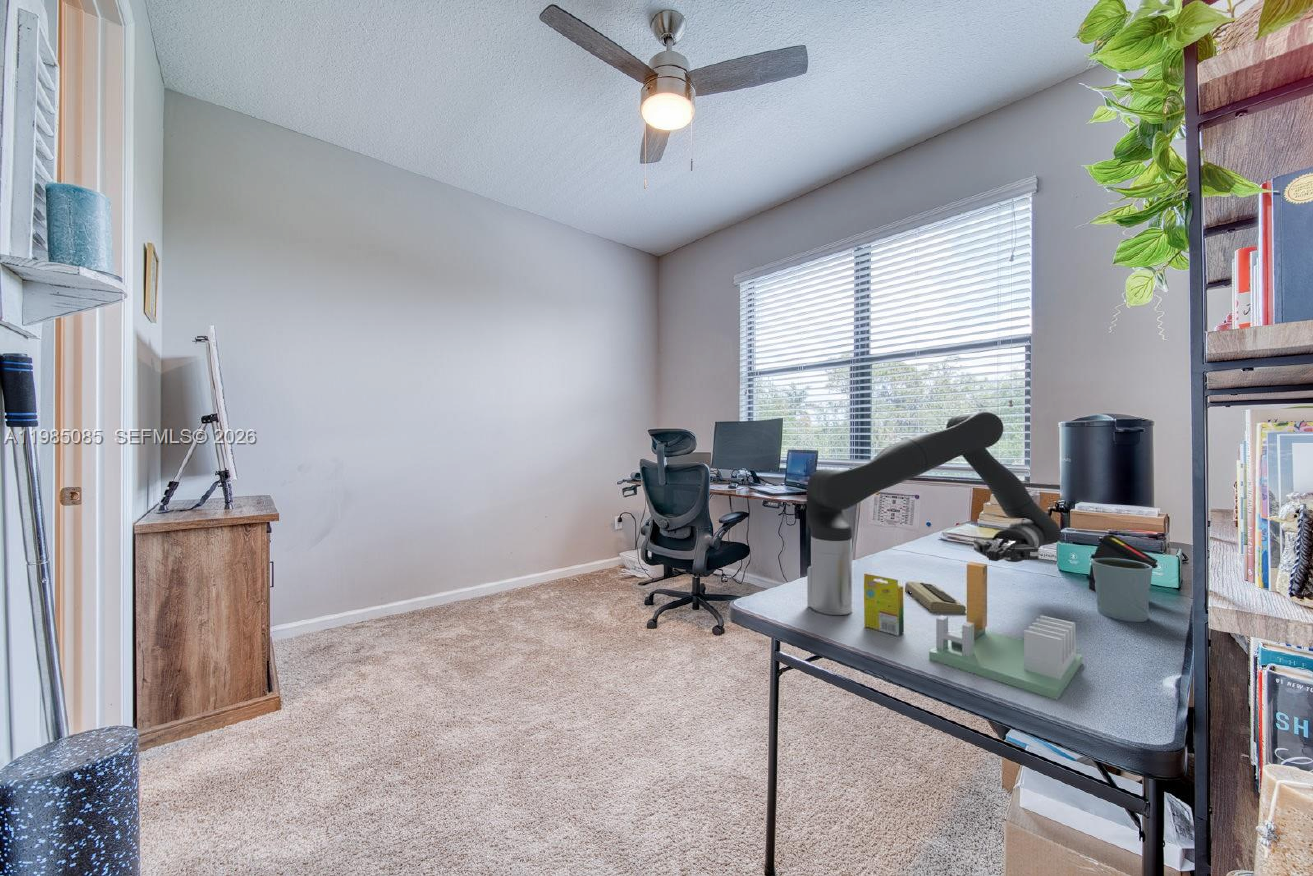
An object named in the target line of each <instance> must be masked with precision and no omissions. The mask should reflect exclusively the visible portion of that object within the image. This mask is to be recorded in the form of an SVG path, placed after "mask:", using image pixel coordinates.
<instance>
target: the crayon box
mask: <svg viewBox="0 0 1313 876" xmlns="http://www.w3.org/2000/svg"><path fill="white" fill-rule="evenodd" d="M863 575H864V577H863V603H864V604H863V607H864V609H863V613H864V614H863V616H864V618H863V619H864V620H863V621H864V623H863V624H864V627H865V628H869V627H870V629H872V628H873V629H872V630H877V631H880V632H884V633H888V634H890V633H891V635H894V636H897V637H899V636H901V635H902V634H903V633H904V632H905V626H904V623H905V620H904V619H905V617H904V616H905V615H904V610H905V609H904V608H905V607H904V586H902V585H899V584H898V582H899V580H898V579H896V578H895V579H894V578H891V577H884V576H880V575H879V576H878V575H874V574H869V573H864V574H863ZM877 580H882V581H884V582H882V581H877Z"/></svg>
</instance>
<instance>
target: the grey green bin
mask: <svg viewBox="0 0 1313 876" xmlns="http://www.w3.org/2000/svg"><path fill="white" fill-rule="evenodd" d="M1091 564H1092V566H1093V573H1094V580H1095V582H1096V583H1095V589H1096V590H1095V594H1096V609H1097V612H1098V613H1099V614H1101V615H1103V616H1106V617H1108V618H1112V619H1115V620H1119V621H1125V622H1133V623H1134V622H1135V623H1140V622H1141V623H1142V622H1143V623H1144V622H1147V621H1148V620H1149V610H1150V608H1149V605H1150V604H1149V603H1150V597H1151V591H1150V588H1151V585H1152V576H1153V569H1154V568H1153V567H1152V566H1150V565H1148V564H1146V563H1142V562H1138V561H1133V560H1126V559H1117V558H1095V559H1091ZM1152 568H1153V569H1152Z"/></svg>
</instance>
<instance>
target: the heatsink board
mask: <svg viewBox="0 0 1313 876" xmlns="http://www.w3.org/2000/svg"><path fill="white" fill-rule="evenodd" d="M935 621H936V622H935V623H936V627H935V632H936V634H935V635H936V636H935V642H936V643H935V646H934V647H932V648H931V649H930V650H929V651H928V656H929V657H928V660H930V659H931V661H934V662H937V663H940V664H944V665H946V664H947V665H946V666H949V665H950V666H949V667H952V666H953V668H955V669H959V668H960V669H959V670H962V671H965V672H969V673H970V674H971V673H972V674H974V673H975V675H978V676H981V677H984V678H986V679H987V678H988V679H989V680H993V681H996V682H1000V683H1002V682H1003V683H1004V684H1006V685H1010V686H1013V687H1016V688H1018V689H1021V690H1025V691H1028V692H1031V693H1033V694H1038V695H1040V696H1043V697H1047V698H1049V699H1053V700H1056V701H1058V700H1059V699H1060V697H1061V695H1062V694H1063V692H1064V691H1065V690H1066V688H1067V687H1068V685H1069V684H1070V682H1071V680H1072V679H1073V678H1074V676H1075V675H1076V673H1077V671H1078V670H1079V668H1080V667H1081V665H1082V663H1083V655H1082V654H1080V653H1076V652H1077V651H1076V649H1077V647H1076V622H1072V621H1068V620H1063V619H1059V618H1054V617H1050V616H1045V615H1040V616H1039V618H1036V620H1035V622H1032V626H1031V625H1030V626H1028V629H1025V630H1024V634H1023V635H1024V636H1023V638H1024V639H1021V638H1018V637H1014V636H1009V635H1006V634H1002V633H998V632H994V631H991V630H986V629H985V633H984V634H983V635H982V636H980V637H979V638H978V639H977V640H975V641H974V623H970V622H967V621H966V622H965V623H963V624H962V625H961V627H960V628H959V629H958V630H956V631H954V630H950V629H949V617H948V616H947V615H943V614H941V615H939V616H938V617H936V619H935ZM961 631H962V634H961V633H960V632H961ZM951 641H953V642H957V643H960V644H962V649H961V648H958V647H954V646H951Z"/></svg>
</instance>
